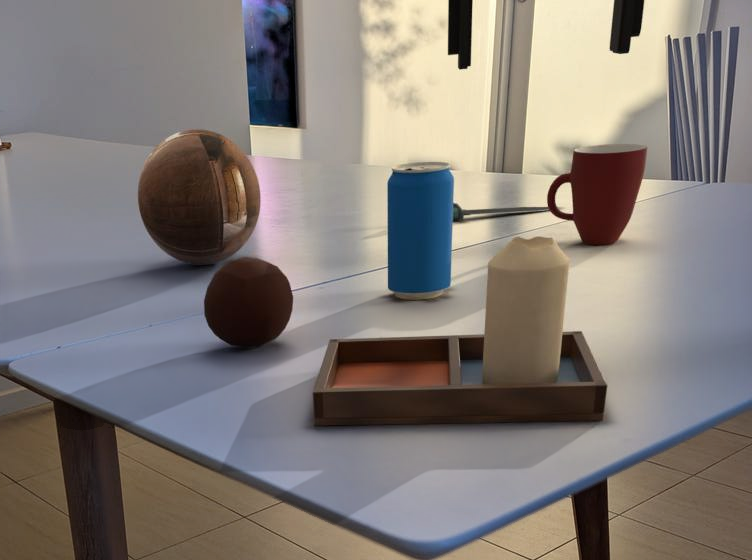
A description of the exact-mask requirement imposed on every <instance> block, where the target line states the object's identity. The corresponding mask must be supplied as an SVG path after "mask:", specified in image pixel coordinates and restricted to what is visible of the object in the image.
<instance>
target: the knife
mask: <svg viewBox="0 0 752 560" xmlns="http://www.w3.org/2000/svg"><path fill="white" fill-rule="evenodd" d="M557 208H558V209H559V207H558V206H557ZM542 211H543V212H544V211H550V210H549V208H548V206H517V207H516V206H515V207H514V206H513V207H497V208H478V209H477V208H476V209H463V208H462V207H461V206H460V205H459V204H458V203H457V202H453V220H455V221H458V222H459V221H460V222H463V221H464V217H465V216H475V215H494V214H510V213H512V214H513V213H529V212H542Z"/></svg>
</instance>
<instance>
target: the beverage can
mask: <svg viewBox="0 0 752 560" xmlns="http://www.w3.org/2000/svg"><path fill="white" fill-rule="evenodd" d="M450 168H451V164H450V163H449V162H445V161H444V162H443V161H420V162H419V161H418V162H409V163H403V164H398V165H394V166H392V167H391V171H392V173H391V175H390V176H389V177H388V180H387V183H386V184H387V187H386V188H387V189H386V190H387V191H386V193H387V194H386V195H387V202H386V203H387V289H388V290H389V291H390V292H392V293H393V294H394V296H395V297H396V298H398V299H403V300H410V301H411V300H412V301H413V300H415V301H418V300H428V299H434V298H438V297H440V296H442V295H443V294H444V292H445V291H446V290H447V289H449V288H450V287H451V282H452V257H453V256H452V253H453V227H454V226H453V225H454V224H453V223H454V219H453V203H454V193H455V192H454V191H455V177H454V175H453V173H452V172H451V170H450Z"/></svg>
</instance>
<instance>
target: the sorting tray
mask: <svg viewBox="0 0 752 560" xmlns="http://www.w3.org/2000/svg"><path fill="white" fill-rule="evenodd" d="M483 352H484V334H483V333H482V334H481V333H480V334H454V335H451V334H450V335H425V336H424V335H423V336H422V335H421V336H395V337H391V336H390V337H362V338H361V337H360V338H334V339H333V338H332V339H329V340H328V344H327V348H326V350H325V353H324V357H323V360H322V363H321V366H320V368H319V372H318V375H317V378H316V381H315V385H314V388H313V390H312V406H313V407H312V408H313V423H314V424H313V425H314V426H356V425H357V426H365V425H367V426H368V425H369V426H370V425H371V426H372V425H374V426H375V425H419V424H420V425H421V424H423V425H424V424H425V425H427V424H428V425H429V424H480V423H481V424H483V423H486V424H487V423H534V422H535V423H536V422H537V423H538V422H539V423H541V422H583V421H584V422H593V421H594V422H595V421H603V420H604V415H605V414H604V413H605V406H606V402H607V401H606V400H607V392H608V384H607V383H608V382H607V381H606V379H605V378H604V375H603V373H602V371H601V369H600V367H599V364H598V362H597V361H596V358H595V356H594V354H593V352H592V350H591V348H590V346H589V343H588V341H587V339H586V337H585V335H584V333H583V331H582V330H575V331H574V330H573V331H563V333H562V343H561V353H560V363H559V372H558V378H557V382H556V383H524V384H484V383H483V379H482V374H483Z"/></svg>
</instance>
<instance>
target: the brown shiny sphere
mask: <svg viewBox="0 0 752 560" xmlns="http://www.w3.org/2000/svg"><path fill="white" fill-rule="evenodd" d="M137 186H138V187H137V203H138V209H139V214H140V217H141V221H142V224H143V225H144V228H145V230H146V232H147V233H148V235H149V237H150V238H151V239H152V241H153V242H154V244H156V246H157V247H159V248H160V250H162V251H163V252H164V253H165V254H167V255H168V256H170V257H172V258H173V259H175V260H177V261H179V262H181V263H185V264H189V265H194V266H195V265H196V266H209V265H214V264H217V263H220V262H223V261H225V260H227V259H229V258H231V257H233V256H234V255H236V253H238V252H239V251H240V250H242V248H243V247H244V246H245V245H246V244H247V242H248V241H249V240H250V238H251V236H252V234H253V233H254V231H255V229H256V226H257V223H258V220H259V216H260V212H261V199H262V197H261V187H260V183H259V179H258V175H257V173H256V170H255V167H254V165H253V163H252V162H251V160H250V159H249V157H248V156H247V155H246V153H245V152H244V151H243V150H242V148H241V147H240V146H239V145H237V144H236V143H235V142H234V141H232V140H231V138H228V137H226V136H225V135H223V134H221V133H218V132H215V131H213V130H208V129H199V128H198V129H197V128H196V129H186V130H183V131H182V130H181V131H179V132H176V133H173V134H172V135H170V136H169V137H166V138H165V139H164V140H162V141H161V142H160V143H159V144H158V145H156V147H155V148H154V149H153V150H152V151H151V152H150V154H149V156H148V157H147V159H146V161H145V163H144V164H143V167H142V170H141V172H140V176H139V180H138V185H137Z"/></svg>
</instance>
